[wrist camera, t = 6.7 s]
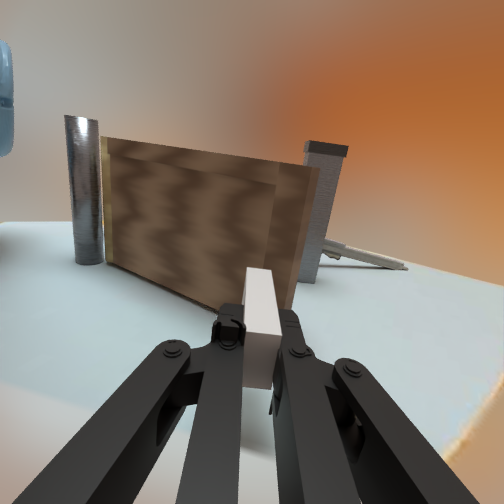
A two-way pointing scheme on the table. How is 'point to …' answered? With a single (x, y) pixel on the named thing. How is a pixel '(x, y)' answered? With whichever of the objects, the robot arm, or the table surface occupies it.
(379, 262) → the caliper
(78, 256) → the hinge post
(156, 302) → the table surface
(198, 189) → the gate
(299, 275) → the post
